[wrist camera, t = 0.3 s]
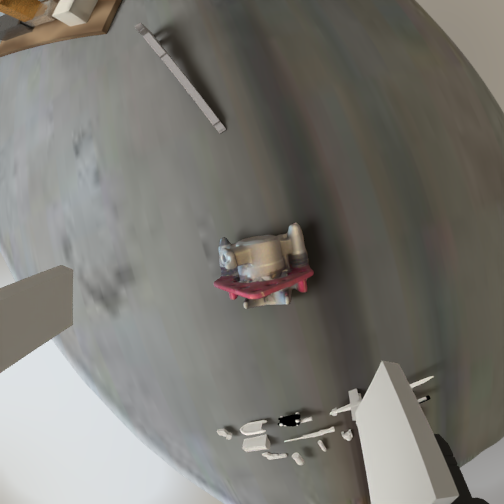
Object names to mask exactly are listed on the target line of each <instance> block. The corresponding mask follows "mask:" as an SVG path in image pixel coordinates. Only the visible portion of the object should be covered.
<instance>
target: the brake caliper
mask: <svg viewBox="0 0 504 504" xmlns="http://www.w3.org/2000/svg"><path fill="white" fill-rule="evenodd" d="M219 255H220V267H221V277H220V279H217V280H216V281H215V282H214V286H215V287H217V288H219V289H222V290H225V291H227V292H229V296H230V299H231V300H235V299H236V298H237V297H238V295H239V296H242V297H245V301H244V308H245V309H249V308H255V307H261V306H264V305H280V304H286V305H289V304H290V302H291V292H292V289H296V290H298V291H300V292H307V282H306V280H307V278H309V277H311V276H312V275H313V274H314V271H313V270H312V269H311V268H310V266H309V264H308V255H307V252H306V249H305V244H304V238H303V234H302V230H301V228H300V226H299V224H297V223H294V224H292V225H290V226H289V229H288V232H287V233H286V234H280V235H277V236H274V235H262V236H255V237H250V238H245V239H242V240H240V241H238V242H237V243H235V244H231V243H230V242H229V241H228V240H227V238H225V237H224V238H221V239H220V245H219Z"/></svg>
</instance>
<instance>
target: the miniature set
mask: <svg viewBox="0 0 504 504" xmlns="http://www.w3.org/2000/svg"><path fill="white" fill-rule="evenodd" d="M433 377H434V376H431V377H427V378H425V379H422V380H420V381H417V382H415V383H412V384H410V386H411V388H413V387H415V386H418V385H420V384H422V383H425V382H426V381H428V380H429V379H431V378H433ZM348 392H349V399H350V404H348V405H346V406H344V407H341V408H339V409H336V408H335V409H333V410H332V412H330V415H332V416H337V413H338V412H343V411H347V410H351V412H352V420H356V416H355V412H356V410H357V408H358V407H359V405H360V403H361V401H362V398H361V393H358V392H357V389H354V390H351V391H348ZM429 399H430V396H429V395H428V396H426V397H423V398H421V399H419V400H418V402H419V404H420V403H422V402H425V401H427V400H429ZM278 420H280V423H278V425H279V426H283V425H284V426H285V427H286V426H298V425H299V424H300V423H303V422H307V421H312V420H313V419H312V417H308V418H304V419H300V415H299V412H296V414H294V415H290V416H285V417H283V416H280V418H278ZM266 422H267V420H260V421H255V422H249V423H247V424H245V425H244V426H242V427H241V428H240V431H241V433H242V434H244V435H253V434H260V433H264V432H265V431H266V430H264V429H262V430H261V428H262V424H263V423H266ZM356 425H357V421H356ZM334 431H335V429H334V427H331V428H329V429H325V430H320V431H319V432H315V433H312V434H308V435H303V437H301V438H296V439H291V440H286V441H284V442H287V441H293V440H298V439H302V438H304V439H305V438H309V437H315V436H320V435H323V434H325V433H330V432H334ZM348 431H349V432H345V433H344V431H343V432H341V435H342V436H343V437H344V439H346V440H348V441H350V440H351V439H352V437H353V435H352V433H351V429H350V430H348ZM217 433H218V434H219V435H220V436H224V437H226V439H229V440H231V438H232V435H233V433H229V432H228V431H227V430H226V429H225V428H224V429H218V430H217ZM225 435H226V436H225ZM318 444H319V446H320V447H321V449H322V450H323V451H326V447H325V446H324V444H323V443H322V441H321V440H319V441H318ZM242 449H243V450H245V451H246V452H250V451H257V450H263V449H270V440H269V439H268V437H267V434H266V435H262V436H257V437H252V438H247V439H244V442H243V447H242ZM262 456H265V457H267V459H269V460H270V459H277V458H283V457H287V454H286V453H284V454H270V453H268V452H265V453H262ZM292 458H293V459H294V460H295V461H296V462H297V464H298V465H303V464H304V460H303V459H302V457H301V456H300V455H299V453H293V455H292Z"/></svg>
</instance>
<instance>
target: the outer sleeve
mask: <svg viewBox="0 0 504 504" xmlns="http://www.w3.org/2000/svg"><path fill="white" fill-rule="evenodd" d="M20 21H21V20H18V19H16V18H14V17H12V16H10V15H7V14H5V15H3V16H1V17H0V40H3V41H7V40H9V39H12V38H15V37H18V36H21V35H23V34H26V33H29V32H32V31H33V29H34V27H35V26H34V27H31V28H29V27H27V26H24V25H22V24H20Z"/></svg>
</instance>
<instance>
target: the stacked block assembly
mask: <svg viewBox="0 0 504 504" xmlns="http://www.w3.org/2000/svg"><path fill="white" fill-rule="evenodd" d="M57 5H58V3H56V2H55V1H53V0H49V1H46V2H44V3H41V2H40V1H38V0H0V12H3V13H5V14H7V15H10V16H12V17H14V18H16V19H18V20H21V21H20V24H22V25H24V26H27V27H29V28H31V27H34V26H37V25H40V24H43V23H46V22H50V21H53V20H55V19H56V18H55V17H53V16H52V15H53V13H54V11H55V9H56V7H57Z"/></svg>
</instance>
